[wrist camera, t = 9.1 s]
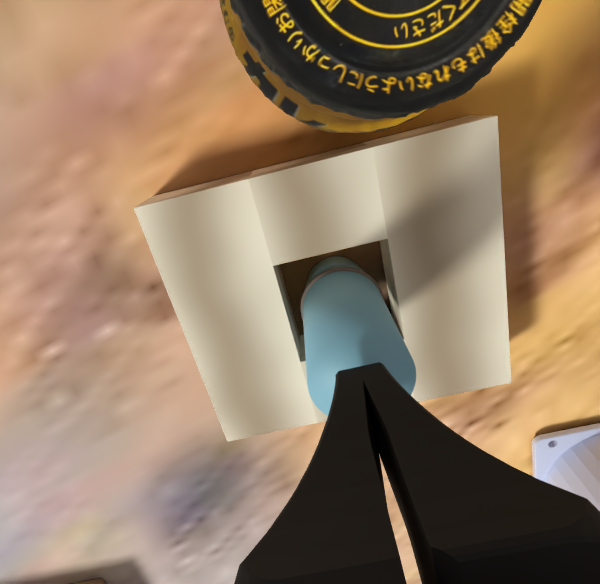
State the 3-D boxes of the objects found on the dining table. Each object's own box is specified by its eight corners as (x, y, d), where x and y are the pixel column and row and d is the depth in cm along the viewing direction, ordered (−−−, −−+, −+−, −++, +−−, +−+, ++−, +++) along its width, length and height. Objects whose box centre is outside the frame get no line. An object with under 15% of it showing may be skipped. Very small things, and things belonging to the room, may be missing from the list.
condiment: (438, -29, 16) (767, -338, 5) (369, 190, 19) (478, 296, 8) (250, -91, 15) (146, -629, 4) (210, 149, 18) (92, 205, 7)
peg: (368, 242, 20) (415, 321, 12) (375, 310, 21) (421, 417, 14) (293, 255, 20) (295, 340, 12) (305, 321, 21) (313, 433, 14)
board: (470, 114, 18) (497, 115, 15) (488, 354, 22) (511, 382, 20) (153, 196, 19) (133, 208, 16) (233, 408, 23) (227, 441, 21)
